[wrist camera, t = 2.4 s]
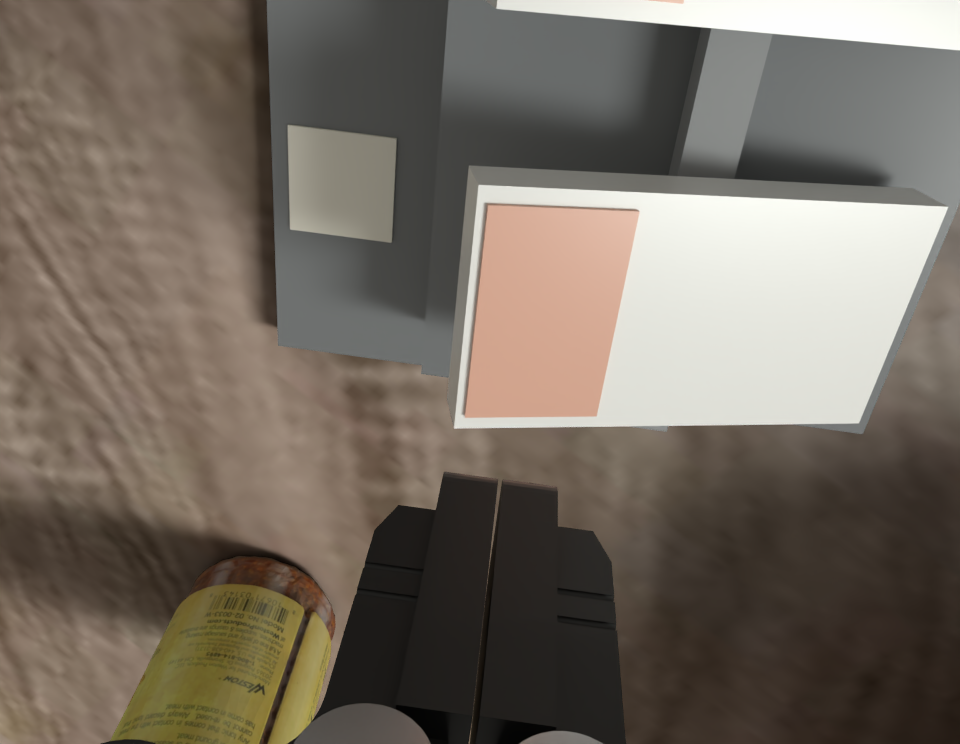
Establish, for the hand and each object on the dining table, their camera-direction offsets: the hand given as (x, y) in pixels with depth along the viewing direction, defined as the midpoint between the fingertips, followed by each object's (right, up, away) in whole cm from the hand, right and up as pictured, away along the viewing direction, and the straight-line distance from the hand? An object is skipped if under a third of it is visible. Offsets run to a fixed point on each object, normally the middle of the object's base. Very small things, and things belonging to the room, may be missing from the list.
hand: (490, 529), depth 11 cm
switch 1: (+4, +4, +7) cm, 9 cm away
